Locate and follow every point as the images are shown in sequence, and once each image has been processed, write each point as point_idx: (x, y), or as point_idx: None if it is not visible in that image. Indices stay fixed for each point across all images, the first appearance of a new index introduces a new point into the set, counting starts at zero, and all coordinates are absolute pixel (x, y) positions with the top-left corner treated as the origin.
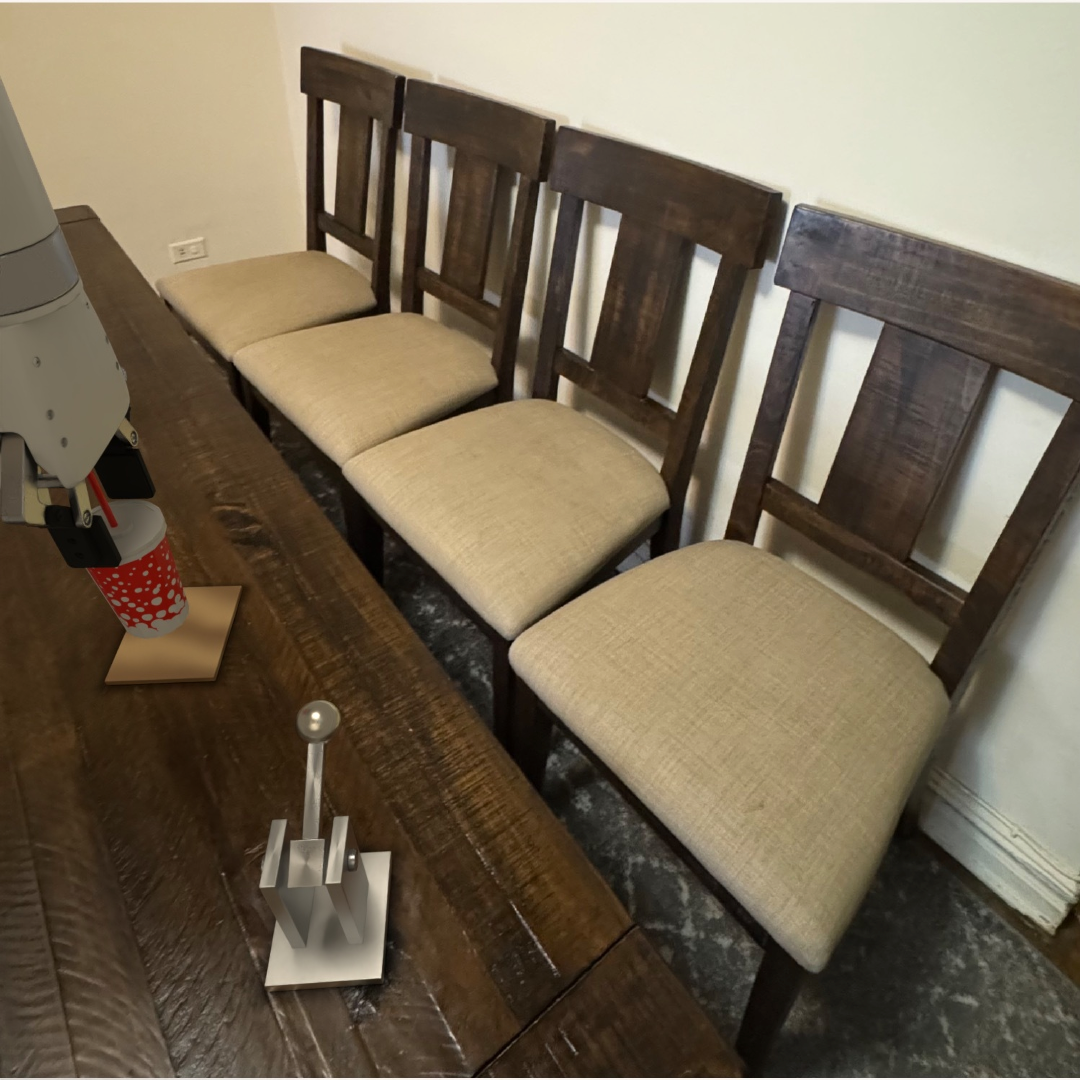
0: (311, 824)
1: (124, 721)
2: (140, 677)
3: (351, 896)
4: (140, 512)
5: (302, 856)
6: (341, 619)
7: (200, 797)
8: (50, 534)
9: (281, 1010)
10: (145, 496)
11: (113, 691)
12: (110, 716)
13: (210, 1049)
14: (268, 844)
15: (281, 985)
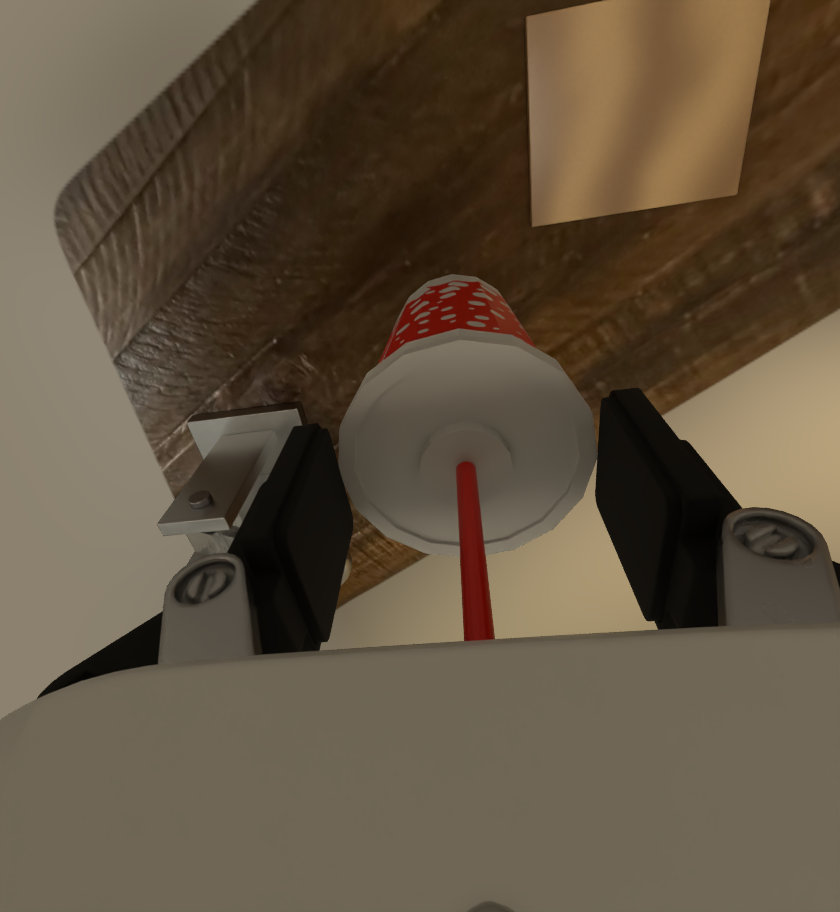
0: None
1: (452, 101)
2: (533, 91)
3: None
4: (537, 491)
5: (205, 542)
6: (636, 371)
7: (351, 280)
8: (258, 498)
9: (184, 428)
10: (598, 493)
11: (511, 42)
12: (460, 68)
13: (137, 384)
14: (198, 521)
15: (192, 434)
